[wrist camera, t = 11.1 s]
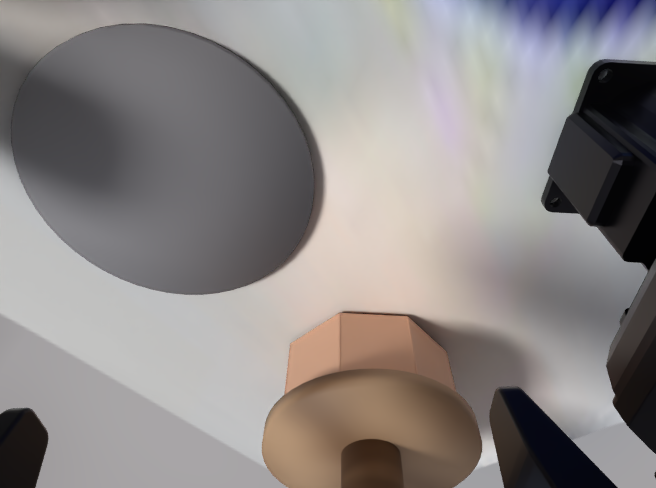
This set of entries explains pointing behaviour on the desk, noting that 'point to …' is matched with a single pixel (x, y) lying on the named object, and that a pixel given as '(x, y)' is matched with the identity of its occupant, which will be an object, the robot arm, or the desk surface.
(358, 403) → the lid
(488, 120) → the desk surface
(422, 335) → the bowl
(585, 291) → the desk surface
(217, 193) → the mat
